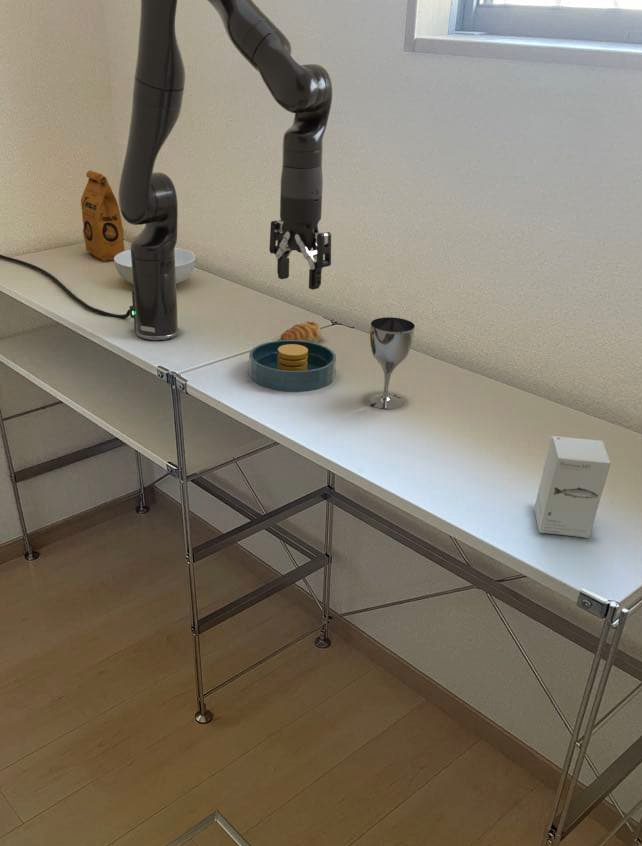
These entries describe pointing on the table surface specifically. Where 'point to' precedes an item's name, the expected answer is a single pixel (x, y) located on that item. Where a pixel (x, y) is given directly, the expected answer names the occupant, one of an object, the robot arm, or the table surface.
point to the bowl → (270, 377)
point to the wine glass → (390, 352)
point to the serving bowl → (182, 264)
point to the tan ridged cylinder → (292, 357)
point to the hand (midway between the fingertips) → (298, 283)
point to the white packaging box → (571, 486)
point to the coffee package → (101, 219)
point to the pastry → (303, 332)
